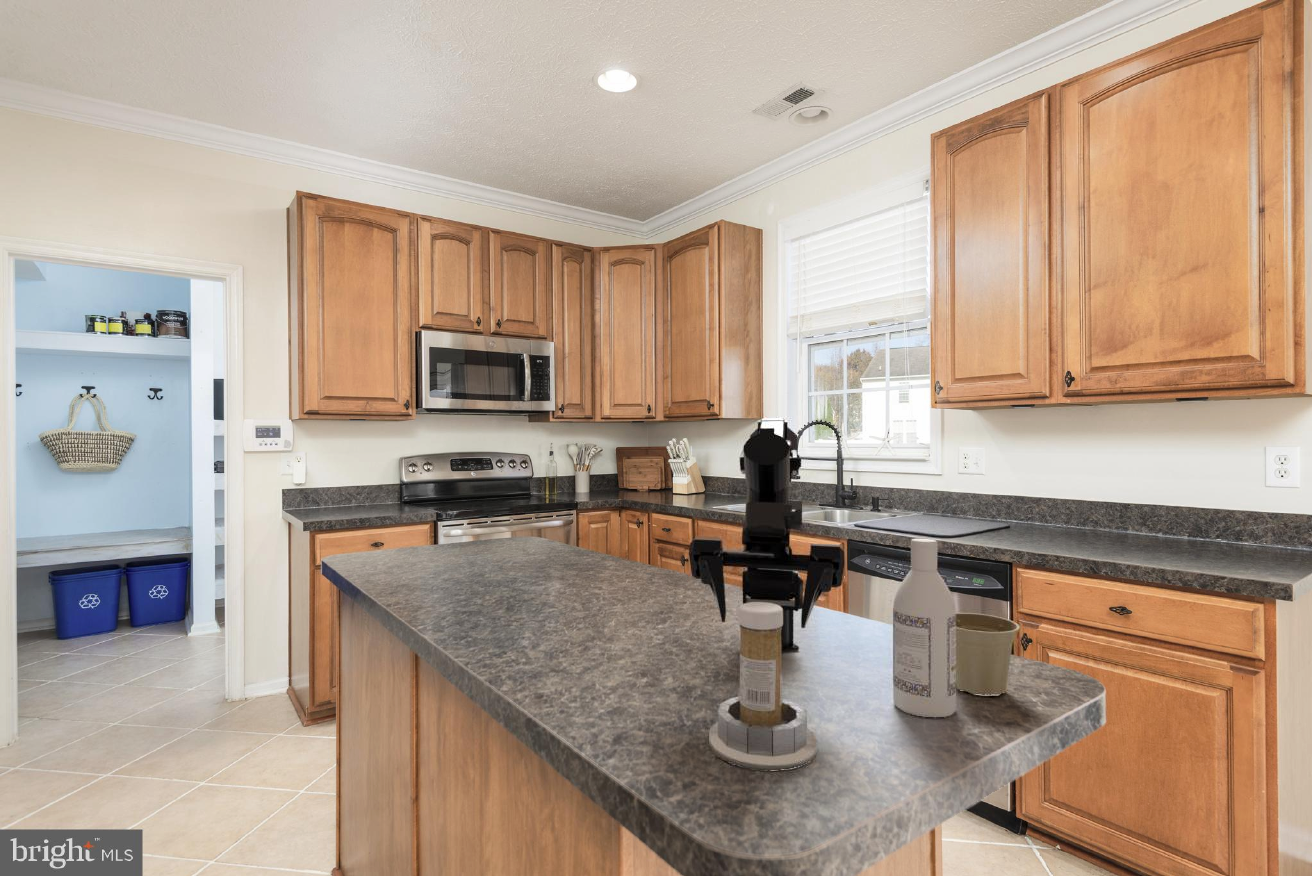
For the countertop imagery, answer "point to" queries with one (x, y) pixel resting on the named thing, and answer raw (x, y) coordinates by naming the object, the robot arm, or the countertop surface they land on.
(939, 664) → the bath foam
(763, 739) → the socket
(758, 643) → the sprinkles bottle
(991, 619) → the flower pot
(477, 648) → the countertop surface
